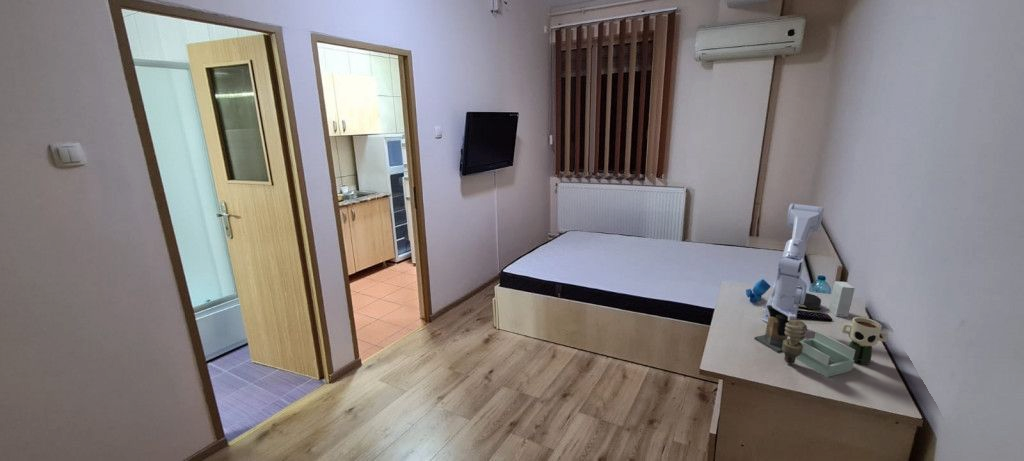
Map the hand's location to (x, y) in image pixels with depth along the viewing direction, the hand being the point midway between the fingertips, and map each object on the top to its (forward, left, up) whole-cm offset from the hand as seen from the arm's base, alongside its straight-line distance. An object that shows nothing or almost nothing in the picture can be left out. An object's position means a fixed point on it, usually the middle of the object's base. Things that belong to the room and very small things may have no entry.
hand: (778, 331), depth 143 cm
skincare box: (-8, +41, -5) cm, 42 cm away
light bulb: (+10, -7, -5) cm, 13 cm away
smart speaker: (-17, +36, -5) cm, 40 cm away
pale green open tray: (+13, +3, -4) cm, 14 cm away
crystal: (-27, +21, -5) cm, 35 cm away
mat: (0, 0, -4) cm, 4 cm away
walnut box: (0, 0, -4) cm, 4 cm away
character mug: (+16, +16, -5) cm, 23 cm away
